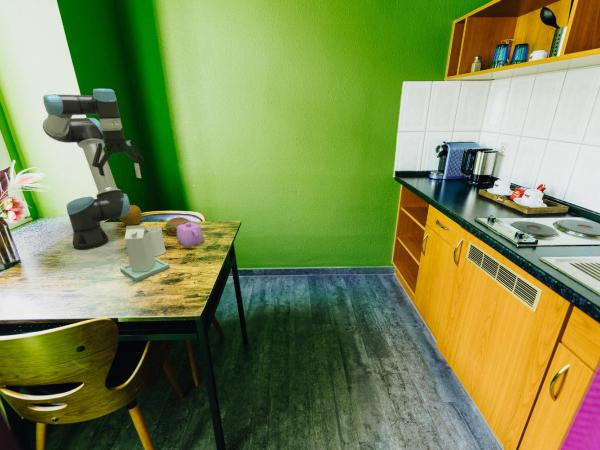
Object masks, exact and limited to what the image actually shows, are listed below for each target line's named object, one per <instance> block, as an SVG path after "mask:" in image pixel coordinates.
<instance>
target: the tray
mask: <svg viewBox="0 0 600 450" xmlns="http://www.w3.org/2000/svg"><path fill="white" fill-rule="evenodd" d="M155 261H156V263H155V265H154V266H153V267H152V269H151V270H150V271H142V272H132V269H131V265H130V263H129V264H126V265H123V266H120V267H119V271H120V273H123V275H125V276H127V277H128V278H130V279H132V281H134V282H135V283H137V282H140V281H143V280H145V279H147V278H150V277H152V276H154V275H157V274H159V273H163V272H164V271H166V270H169V269H170V268H171V267H170V264H169V263H167V262H166V261H163V260H162V259H159V258H157V256H155Z"/></svg>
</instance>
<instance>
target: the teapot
mask: <svg viewBox="0 0 600 450" xmlns="http://www.w3.org/2000/svg"><path fill="white" fill-rule="evenodd" d="M176 236H177V237H176V238H177V240H178V242H179V244H181V245H182V246H184V247H186V248H190V247H193V246H197V245H199V244H203V243H204V234H203V231H202V228H201V226H200V225H199V224H197V223H195V222H192V221H191V223H186V224H180V225H179V226H177V235H176Z"/></svg>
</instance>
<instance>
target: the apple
mask: <svg viewBox="0 0 600 450" xmlns="http://www.w3.org/2000/svg"><path fill="white" fill-rule="evenodd" d="M141 218H142V210H141V208H140V207H139V206H137V205H135V204H134V205H132V204H130V212H129V214H128V215H127V216H123V217H121V218H118V220H119V221H120V222H122V224H124V225H126V226H137V225H138V224H139V223H140V221H141Z"/></svg>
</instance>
